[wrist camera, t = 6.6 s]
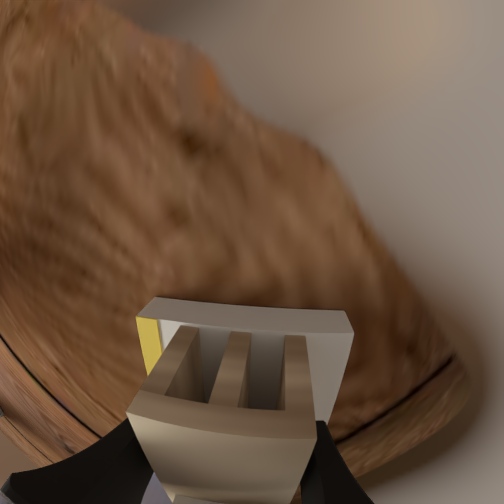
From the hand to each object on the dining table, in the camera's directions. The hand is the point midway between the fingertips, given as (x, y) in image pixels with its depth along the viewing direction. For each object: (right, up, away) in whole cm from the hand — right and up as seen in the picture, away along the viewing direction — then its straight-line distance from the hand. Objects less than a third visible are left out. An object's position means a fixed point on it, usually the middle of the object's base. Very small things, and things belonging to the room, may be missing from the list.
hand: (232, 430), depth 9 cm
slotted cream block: (0, -2, +3) cm, 4 cm away
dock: (0, -2, +5) cm, 5 cm away
